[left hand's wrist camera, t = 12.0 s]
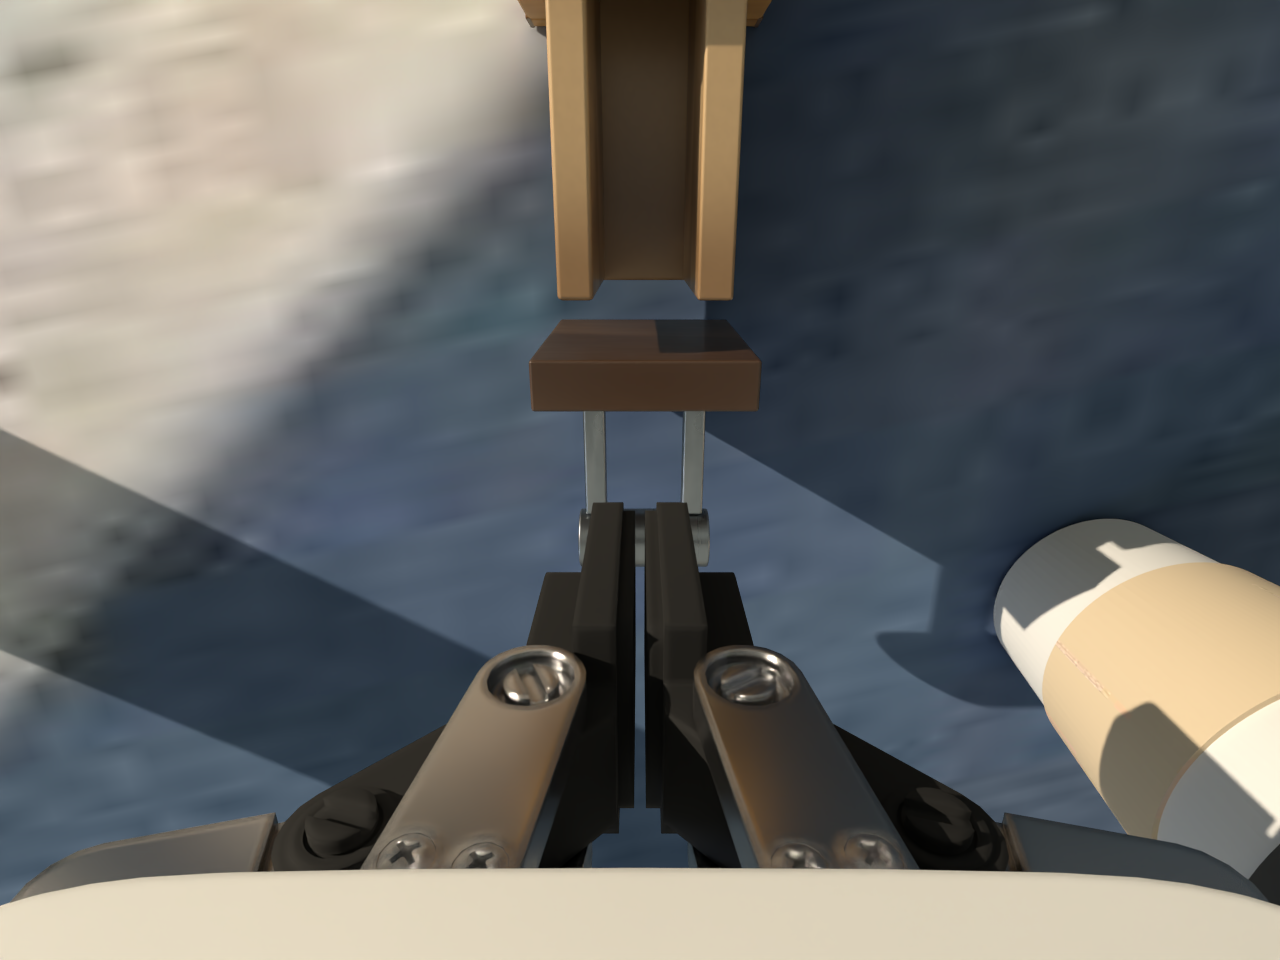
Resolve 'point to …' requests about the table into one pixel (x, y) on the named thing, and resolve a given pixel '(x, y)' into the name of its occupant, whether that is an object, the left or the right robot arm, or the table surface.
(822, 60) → the table surface
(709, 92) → the drawer
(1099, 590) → the coffee cup
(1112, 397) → the table surface
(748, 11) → the cabinet
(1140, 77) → the table surface
